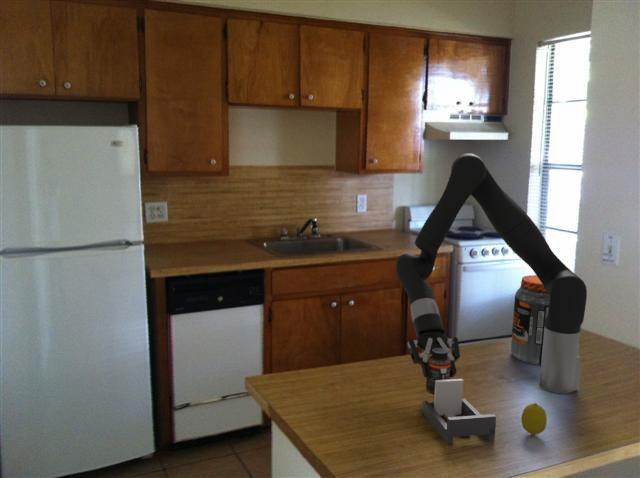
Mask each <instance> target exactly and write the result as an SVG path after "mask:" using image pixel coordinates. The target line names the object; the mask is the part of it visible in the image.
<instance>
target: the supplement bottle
mask: <svg viewBox="0 0 640 478" xmlns="http://www.w3.org/2000/svg"><path fill="white" fill-rule="evenodd" d="M447 356H448V351H447V350H446V349H442V348H434V349H432V354H431V355H429V356H428V359H427V363H429V367H430V372H431V377H430V379H426V378H425V379H426V380H425V390H426V392H427V393H428V394H430V395H433V396H434V395H435V380H449V379H450V378H451V377H450V368H451V361H450V359H449V358H447Z"/></svg>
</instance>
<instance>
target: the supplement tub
mask: <svg viewBox="0 0 640 478" xmlns="http://www.w3.org/2000/svg"><path fill="white" fill-rule="evenodd" d="M549 303H550V296H549V294H548V293H547V291H546V289H545V287H544V286H543V284H542V283H541V281H540V280H539V278H538V277H537V275H536V274H531V275H525V276H523V277H522V278H521V281H520V287H519V288H517V290H516V291H515V294H514V301H513V304H514V305H513V314H512V315H513V316H512V327H511V328H512V329H511V342H510V353H511V354H512V356H513V357H514V358H516V359H517V360H520V361H522V362H523V363H527V364H531V365H537V366H541V359H542V348H543V337H544V326H545V318H546V316H547V315H548V312H549Z"/></svg>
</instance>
